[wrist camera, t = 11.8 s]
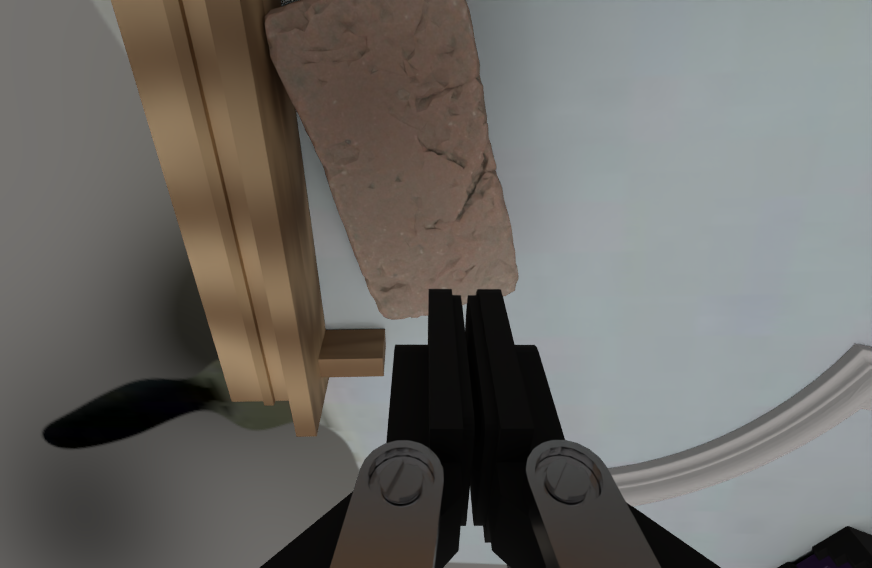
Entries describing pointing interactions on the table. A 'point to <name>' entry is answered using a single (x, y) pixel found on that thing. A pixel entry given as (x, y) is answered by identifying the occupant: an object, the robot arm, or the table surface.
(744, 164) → the table surface
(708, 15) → the table surface
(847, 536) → the energy cube
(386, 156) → the brick
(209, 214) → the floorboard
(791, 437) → the molding
